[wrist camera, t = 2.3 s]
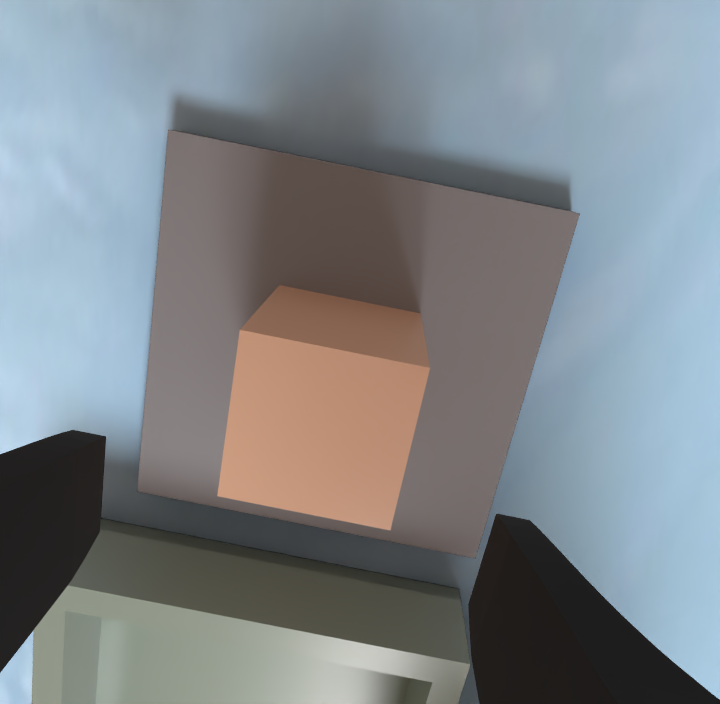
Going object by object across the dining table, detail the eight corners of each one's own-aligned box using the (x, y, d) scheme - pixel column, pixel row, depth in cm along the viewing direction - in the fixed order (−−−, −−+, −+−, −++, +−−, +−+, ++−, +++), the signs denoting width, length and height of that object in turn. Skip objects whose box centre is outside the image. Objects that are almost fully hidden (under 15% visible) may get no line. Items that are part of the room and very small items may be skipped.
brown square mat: (571, 211, 18) (580, 213, 17) (472, 544, 22) (475, 558, 21) (177, 131, 18) (168, 129, 17) (145, 479, 22) (137, 491, 21)
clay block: (420, 313, 18) (430, 367, 14) (391, 440, 20) (390, 530, 15) (279, 284, 18) (239, 329, 14) (259, 414, 20) (217, 496, 15)
